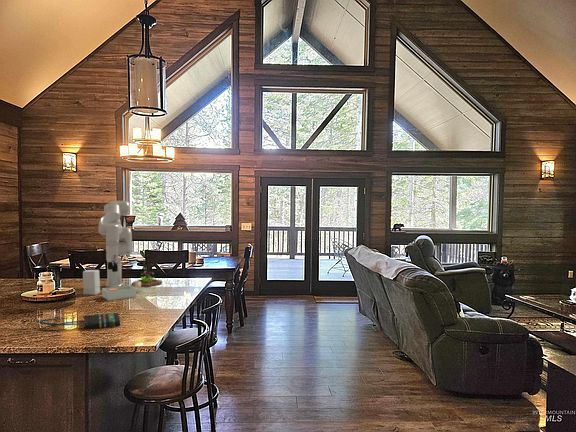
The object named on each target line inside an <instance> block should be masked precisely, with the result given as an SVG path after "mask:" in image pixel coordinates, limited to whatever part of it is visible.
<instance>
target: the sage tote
mask: <svg viewBox="0 0 576 432" xmlns="http://www.w3.org/2000/svg"><path fill="white" fill-rule="evenodd" d="M112 288H116V289H118V291H110V292H108V291H107V289H112ZM101 291H102V292H101V294H102V295H101V296H102V298H103V299H105V300H106V301H108V302H109V301H116V300H117V301H118V300H123V299H124V300H125V299H132V298H137V293H136V288H134V287H133V286H132V285H123V286H118V287H102V288H101Z"/></svg>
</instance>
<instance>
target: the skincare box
mask: <svg viewBox="0 0 576 432" xmlns="http://www.w3.org/2000/svg"><path fill="white" fill-rule="evenodd" d="M100 280H101V279H100V269H87V270H84V271H82V286H83V288H82V289H83V295H84V296H85V295H89V296H92V295H98V294H100V293H101V285H100V284H101V283H100V282H101V281H100Z"/></svg>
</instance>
